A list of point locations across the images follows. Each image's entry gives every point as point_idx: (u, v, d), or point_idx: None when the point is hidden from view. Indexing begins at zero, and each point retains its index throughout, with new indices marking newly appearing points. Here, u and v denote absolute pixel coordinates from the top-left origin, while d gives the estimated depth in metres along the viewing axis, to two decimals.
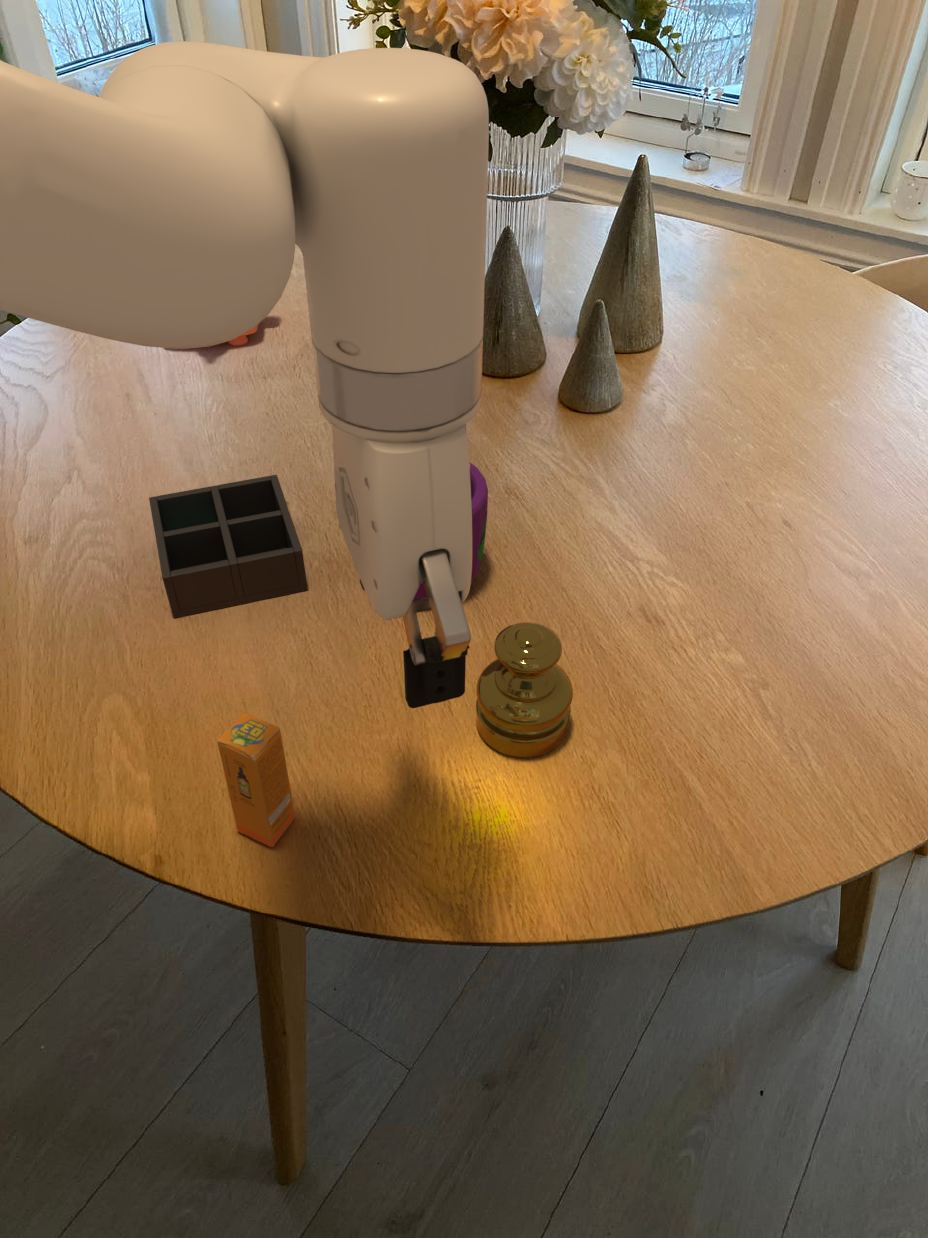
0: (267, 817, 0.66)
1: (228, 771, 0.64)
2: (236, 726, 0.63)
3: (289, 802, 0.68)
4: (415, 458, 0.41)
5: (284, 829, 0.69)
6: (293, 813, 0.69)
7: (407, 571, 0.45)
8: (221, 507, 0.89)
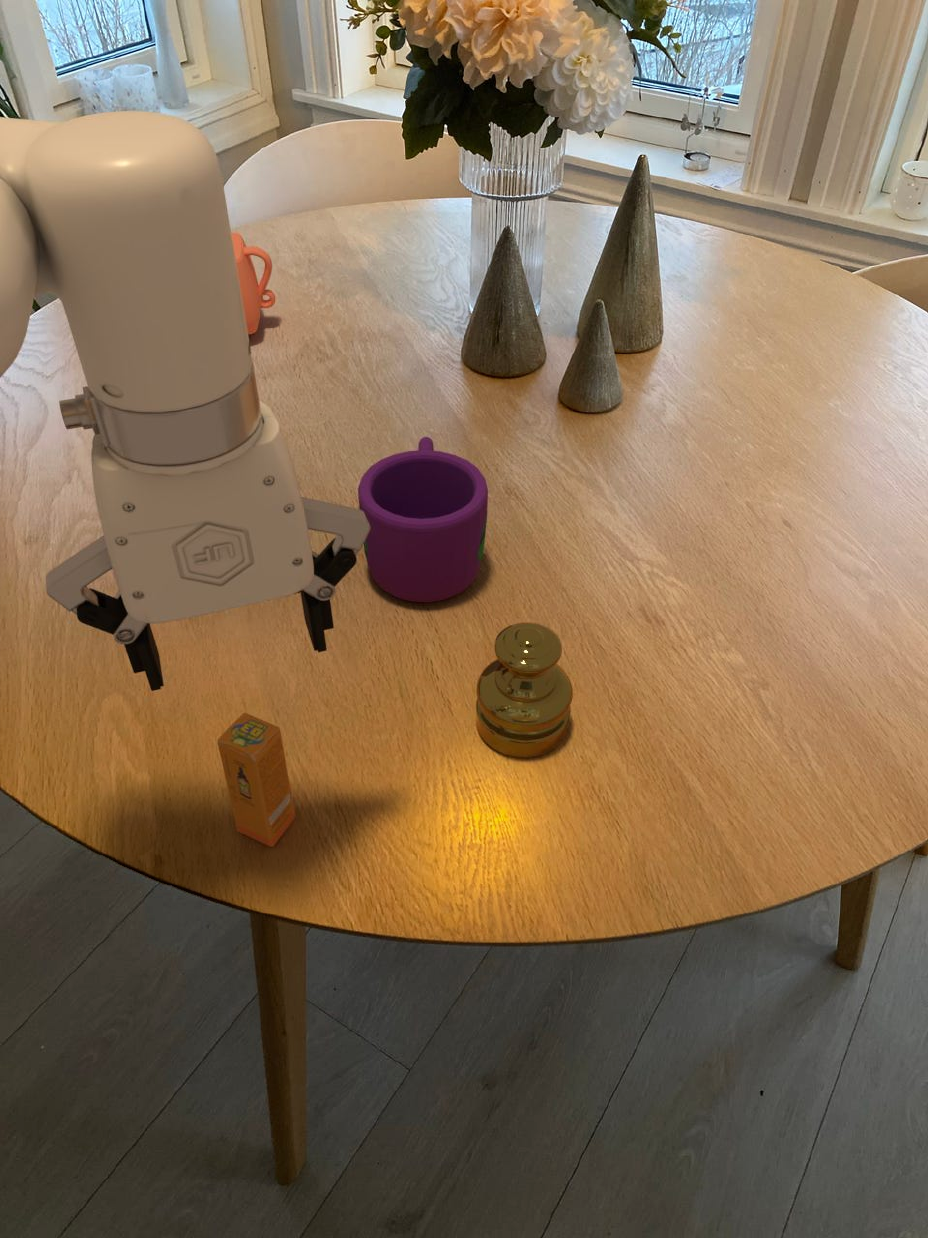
0: (267, 817, 0.66)
1: (228, 771, 0.64)
2: (236, 726, 0.63)
3: (289, 802, 0.68)
4: (280, 427, 0.48)
5: (284, 829, 0.69)
6: (293, 813, 0.69)
7: None
8: None
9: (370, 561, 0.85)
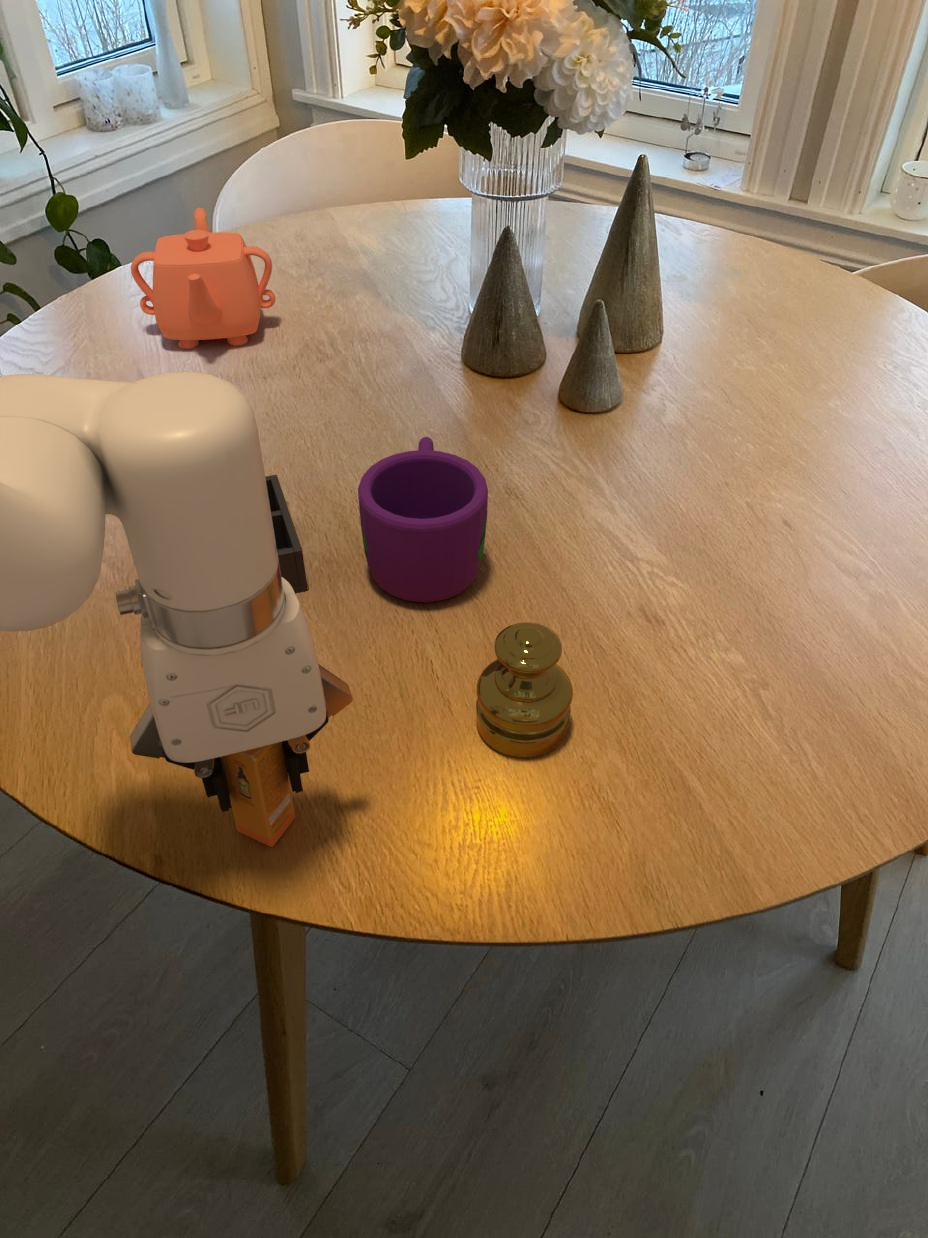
0: (267, 817, 0.66)
1: (228, 771, 0.64)
2: None
3: (289, 802, 0.68)
4: (299, 603, 0.56)
5: (284, 829, 0.69)
6: (293, 813, 0.69)
7: None
8: None
9: (370, 561, 0.85)
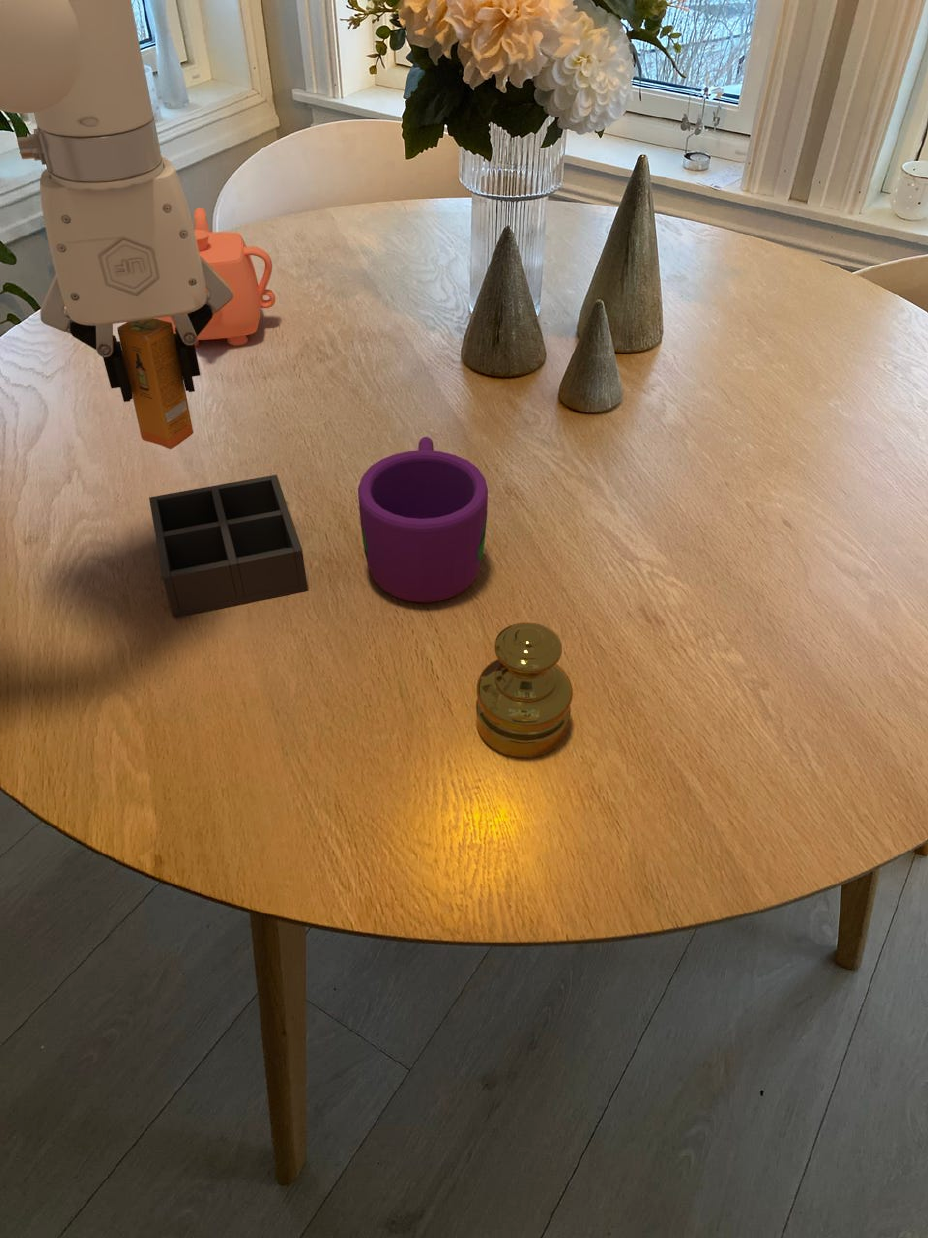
0: (164, 411, 0.77)
1: (128, 363, 0.75)
2: None
3: (186, 410, 0.79)
4: None
5: (182, 437, 0.80)
6: (191, 426, 0.80)
7: None
8: (221, 507, 0.89)
9: (370, 561, 0.85)
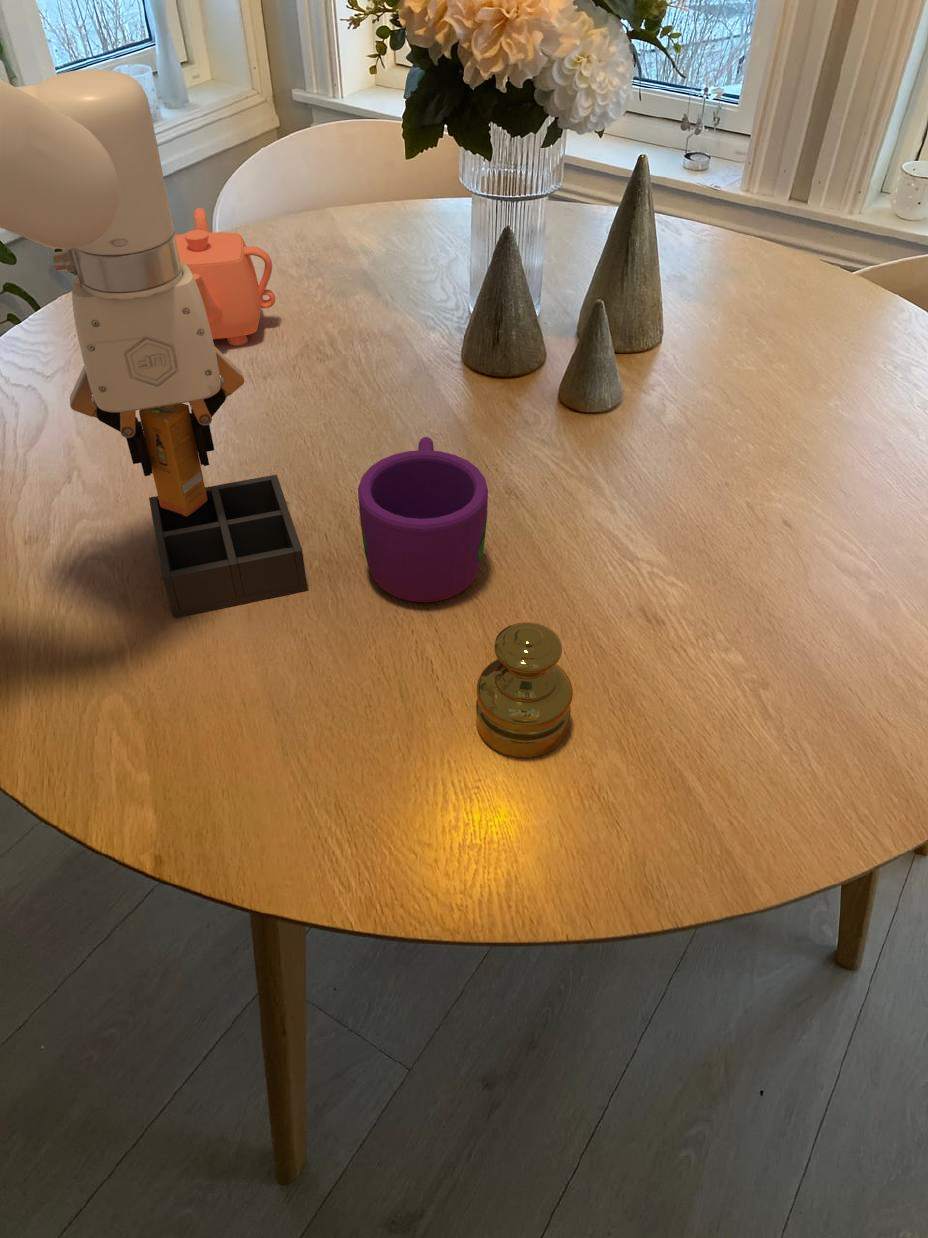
0: (181, 484, 0.84)
1: (149, 441, 0.82)
2: None
3: (200, 481, 0.86)
4: None
5: (197, 504, 0.87)
6: (205, 494, 0.88)
7: None
8: (221, 507, 0.89)
9: (370, 561, 0.85)
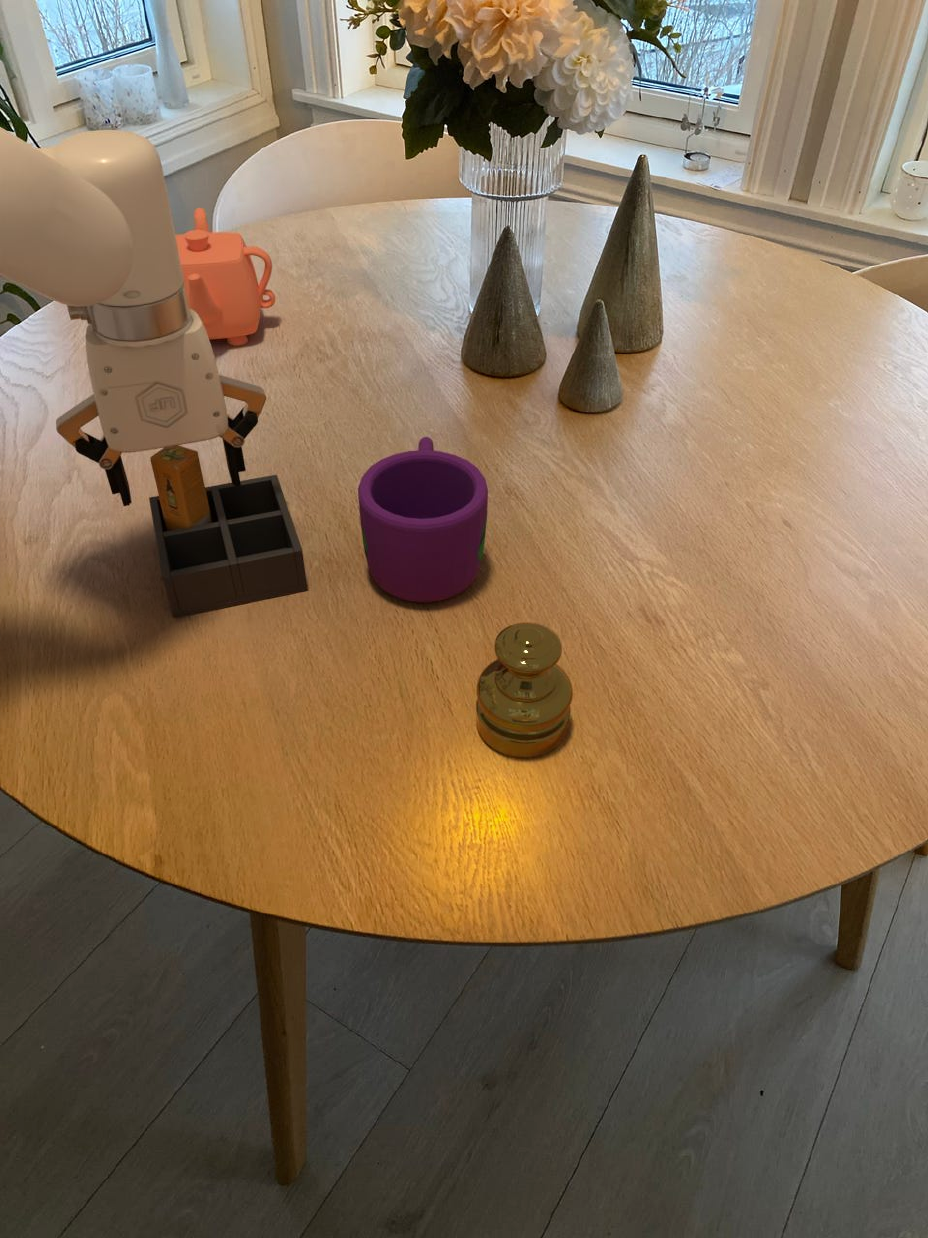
0: (190, 526, 0.87)
1: (160, 486, 0.86)
2: (165, 449, 0.85)
3: (209, 522, 0.90)
4: None
5: None
6: None
7: (222, 391, 0.80)
8: (221, 507, 0.89)
9: (370, 561, 0.85)
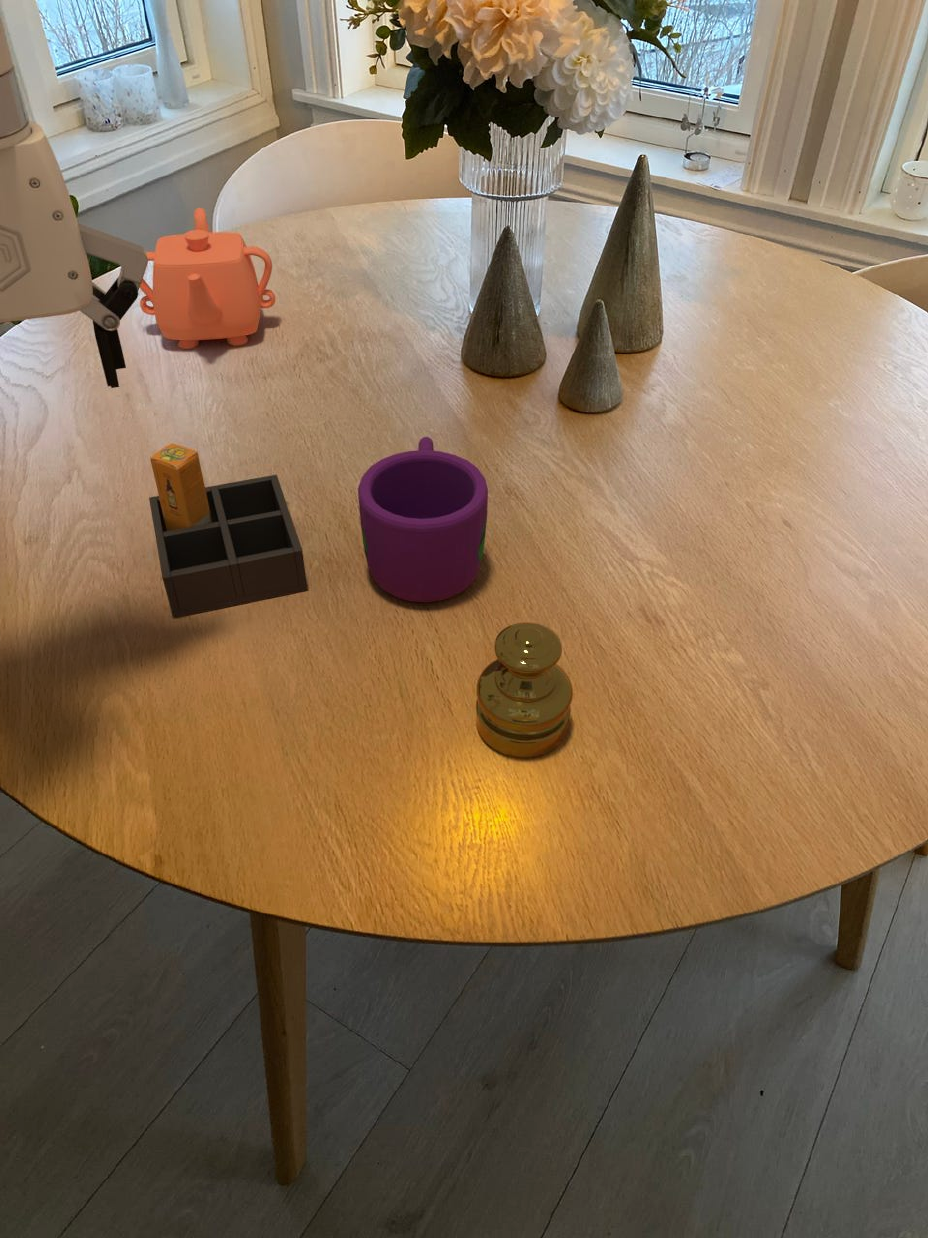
0: (190, 526, 0.87)
1: (160, 486, 0.86)
2: (165, 449, 0.85)
3: (209, 522, 0.90)
4: (47, 139, 0.54)
5: None
6: None
7: (82, 244, 0.58)
8: (221, 507, 0.89)
9: (370, 561, 0.85)
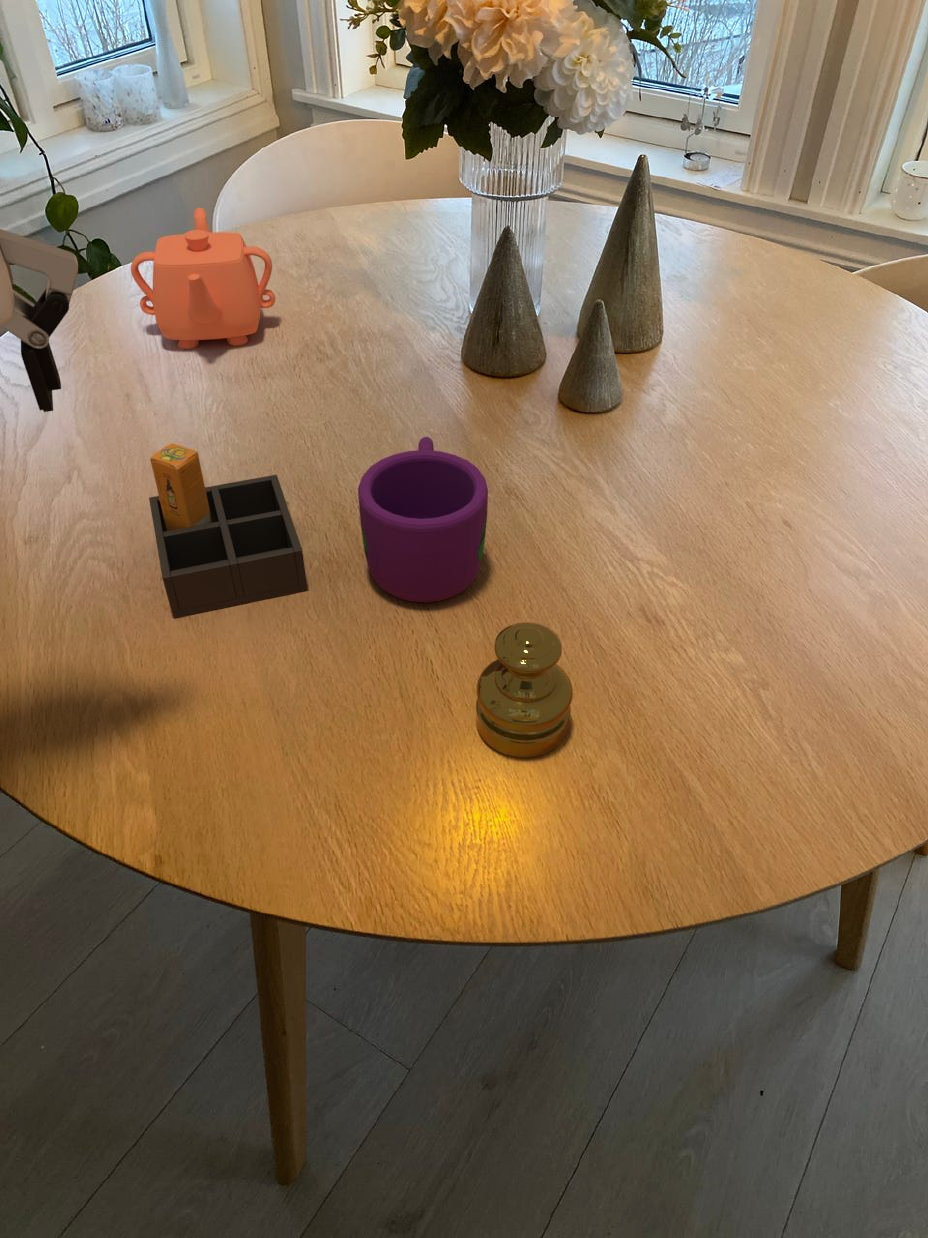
0: (190, 526, 0.87)
1: (160, 486, 0.86)
2: (165, 449, 0.85)
3: (209, 522, 0.90)
4: None
5: None
6: None
7: None
8: (221, 507, 0.89)
9: (370, 561, 0.85)
